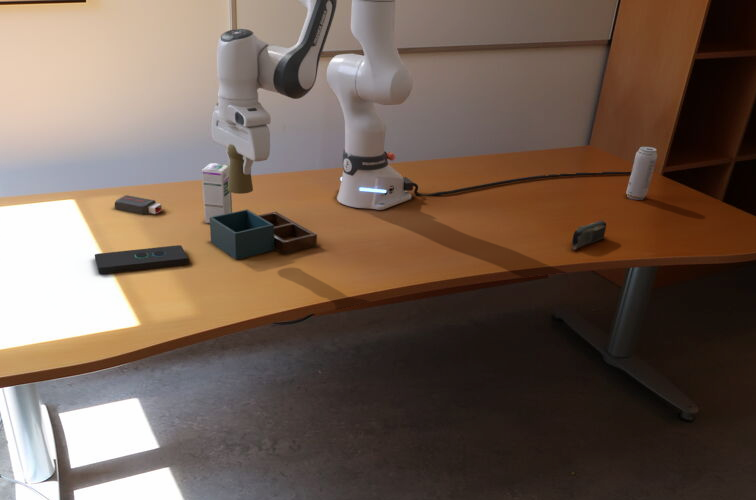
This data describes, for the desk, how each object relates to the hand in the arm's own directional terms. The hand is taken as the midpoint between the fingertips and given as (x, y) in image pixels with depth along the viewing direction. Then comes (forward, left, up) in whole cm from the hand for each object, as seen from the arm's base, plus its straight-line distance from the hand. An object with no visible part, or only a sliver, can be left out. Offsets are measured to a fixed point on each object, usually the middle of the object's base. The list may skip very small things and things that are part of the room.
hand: (240, 170), depth 173 cm
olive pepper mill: (0, 0, -5) cm, 5 cm away
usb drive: (+11, -36, -19) cm, 42 cm away
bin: (0, 0, -19) cm, 19 cm away
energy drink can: (-123, +30, -19) cm, 128 cm away
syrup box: (-4, -18, -19) cm, 27 cm away
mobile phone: (-78, +45, -19) cm, 92 cm away
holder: (-11, 0, -19) cm, 22 cm away
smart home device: (+24, -4, -19) cm, 31 cm away
